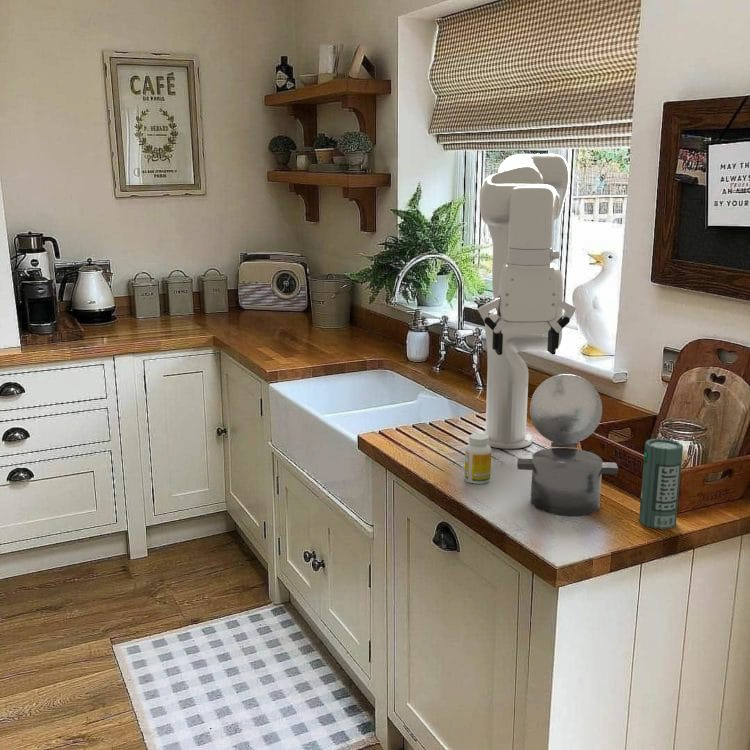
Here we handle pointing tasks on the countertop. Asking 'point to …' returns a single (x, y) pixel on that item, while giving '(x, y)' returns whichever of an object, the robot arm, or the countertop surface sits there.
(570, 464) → the pot
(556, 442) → the lid
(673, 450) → the can
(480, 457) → the supplement bottle
